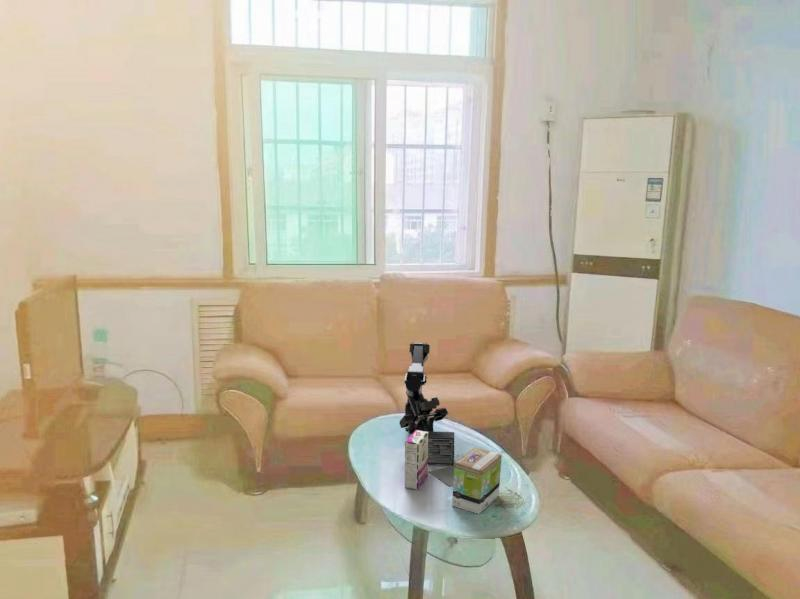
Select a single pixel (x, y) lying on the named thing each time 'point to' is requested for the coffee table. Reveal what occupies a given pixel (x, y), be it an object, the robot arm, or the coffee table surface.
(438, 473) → the slate mat
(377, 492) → the coffee table surface
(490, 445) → the coffee table surface
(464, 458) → the tea box
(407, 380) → the robot arm
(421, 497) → the coffee table surface
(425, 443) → the candy bar box
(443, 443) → the small box
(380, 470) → the coffee table surface
